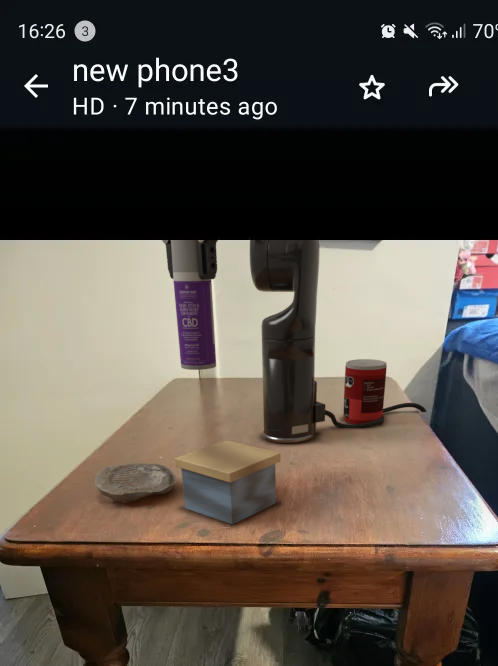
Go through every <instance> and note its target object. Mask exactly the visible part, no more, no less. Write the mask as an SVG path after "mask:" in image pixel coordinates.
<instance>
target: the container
mask: <svg viewBox="0 0 498 666" xmlns="http://www.w3.org/2000/svg"><path fill="white" fill-rule="evenodd" d="M197 244H200V242H198V240H171V249H172V264H173V279H172V280H173V291H174V292H173V293H174V301H175V302H174V303H175V313H176V325H177V337H178V345H179V346H178V348H179V359H180V367H181V368H182V369H183V370H190V371H191V370H192V371H196V370H198V371H202V370H209V369H214V368H216V367H217V355H216V336H215V323H214V322H215V320H214V304H213V303H214V302H213V300H214V299H213V286H212V285H213V283H212V279H209V280H202V279H200V277H199V268H198V254H197Z"/></svg>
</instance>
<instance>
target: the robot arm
mask: <svg viewBox="0 0 498 666" xmlns="http://www.w3.org/2000/svg"><path fill="white" fill-rule="evenodd" d="M161 241H162V243H163V244H164V245H165V253H166V263H167V270H168V274H169V277H170V278H171V279H172V280H173V264H172V249H171V240H161ZM218 241H219V239H218V240H198V242H200V244H197V254H198V268H199V277H200V279H202V280H209V279H211V280H215V279H216V277H217V272H218V260H217V259H218V257H217V242H218ZM320 255H321V254H320V240H250V239H249V270H250V276H251V277H250V278H251V281H252V284H253V286H254V288H255V289H256V290H257V291H259V292H262V293H263V292H264V293H293V299H292V302H291V304H289V305H288V306H287V307H286V308H284V309H283V310H281V311H279V312H277V313H275V314H272V315H269V316H267V317H264V318H263V320H262V321H261V324H260V325H261V326H260V330H261V331H260V332H261V366H262V368H261V369H262V405H263V406H262V407H263V408H262V411H263V414H262V415H263V432H262V433H263V435H262V436H263V438H264V439H265V440H266V441H269V442H273V443H277V444H296V443H303V442H307V441H309V440H311V439H313V438H314V435H315V434H316V433H317V424H318V423H323V422H326V416H327V418H328V417H329V418H330V420H331V423H332V424H333V426H335V427H336V428H340V429H365V428H370V427H375V426H377V425H381V424H383V423H384V421H385V415H384V414H386V413H389V412H392V411H393V412H394V411H395V410H400V409H404V408H413V409H416V410H418V411H420V412H422V413H427V412H428V410H427V409H426V408H425V407H424V406H423V405H421V404H419V403H416V402H403V403H397V404H395V405H391V406H388V407H383V416H382V417H381V418H380V419H379V420H375V421H371V422H367V423H362V424H351V423H342V422H340V421H338V420H337V417H336V416H335V414H334V413H333V412H331V411H330V410H327V409H326V403H322V402H320V401H317V397H318V396H317V394H318V390H317V389H318V383H317V381H316V380H315V371H316V369H315V368H316V367H315V366H316V364H315V363H316V362H315V361H316V356H315V355H316V323H317V305H318V285H319V275H320V274H319V272H320Z"/></svg>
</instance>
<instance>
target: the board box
mask: <svg viewBox="0 0 498 666" xmlns="http://www.w3.org/2000/svg"><path fill="white" fill-rule="evenodd" d="M280 462H281V452H277V451H274V450H269V449H266V448H265V449H264V448H260V447H257V446H252V445H248V444H243V443H240V442H236V441H231V440H227V439H226V440H222V441H220V442H217V443H213V444H212V445H209V446H205V447H203V448H200V449H196V450H194V451H191V452H189V453H185V454H181V455H180V456H176V457H175V458H174V465H175V467H176V468H179V469H180V471H181V480H182V489H183V490H182V491H183V500H184V508H185V509H186V510H190V511H191V512H195V513H197V514H201V515H204V516H207V517H209V518H212V519H215V520H218V521H221V522H224V523H227V524H230V525H234V524H237V523H239V522H240V521H243V520H245V519H247V518H249V517H251V516H253V515H255V514H257V513H259V512H262V511H263V510H265V509H267V508H269V507H271V506H273V505H276V503H277V494H276V493H277V492H276V490H277V489H276V485H277V484H276V464H278V463H280Z"/></svg>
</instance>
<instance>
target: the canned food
mask: <svg viewBox="0 0 498 666" xmlns="http://www.w3.org/2000/svg"><path fill="white" fill-rule="evenodd" d="M344 369H345V371H344V387H343V388H344V391H343V392H344V393H343V414H342V417H343V421H345V422H346V423H347V424H351V425H352V424H362V423H367V422H371V421H375V420H379V419H380V418H381V417H382V416H383V415H384V413H383V409H384V404H385V393H386V392H385V391H386V381H387V379H386V378H387V369H388V367H387V362H386V361H384V360H379V359H373V358H358V359H357V358H356V359H350V360H348V361H346V362H345V368H344Z"/></svg>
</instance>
